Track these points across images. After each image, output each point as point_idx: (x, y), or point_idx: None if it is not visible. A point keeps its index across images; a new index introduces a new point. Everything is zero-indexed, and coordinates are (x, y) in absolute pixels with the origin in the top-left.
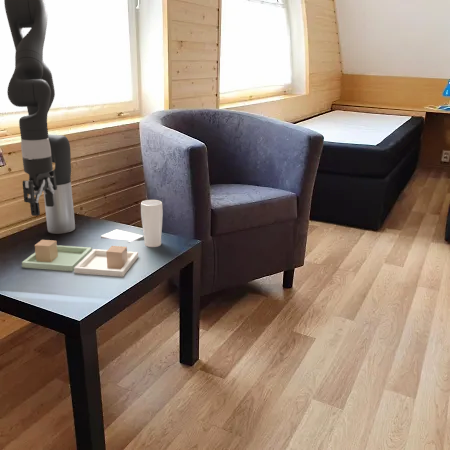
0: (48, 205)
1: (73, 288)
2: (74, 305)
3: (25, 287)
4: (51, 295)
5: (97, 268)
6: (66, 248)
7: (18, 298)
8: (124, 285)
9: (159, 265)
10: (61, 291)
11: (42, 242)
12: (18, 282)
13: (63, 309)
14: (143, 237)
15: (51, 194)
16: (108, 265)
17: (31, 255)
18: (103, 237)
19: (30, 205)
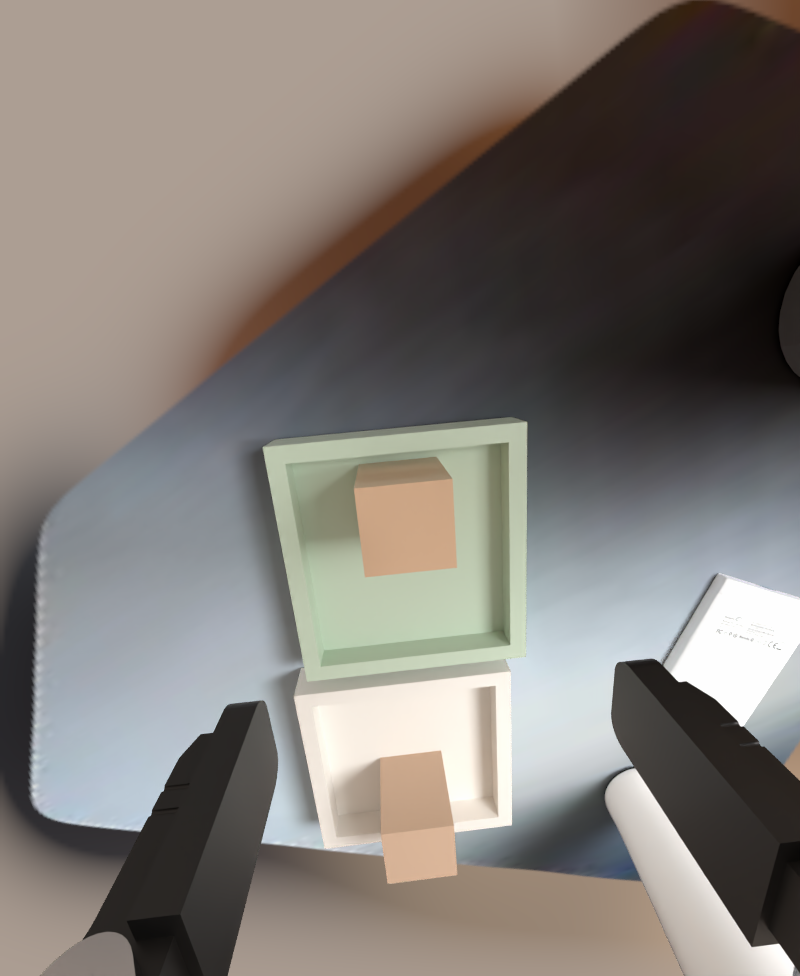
0: (623, 689)
1: (206, 711)
2: (101, 769)
3: (135, 553)
4: (125, 674)
5: (318, 772)
6: (507, 545)
7: (45, 583)
8: (291, 829)
9: (469, 857)
10: (168, 688)
11: (408, 508)
12: (161, 498)
13: (61, 754)
14: None
15: (769, 934)
16: (380, 771)
17: (359, 441)
18: (714, 593)
19: (107, 899)
